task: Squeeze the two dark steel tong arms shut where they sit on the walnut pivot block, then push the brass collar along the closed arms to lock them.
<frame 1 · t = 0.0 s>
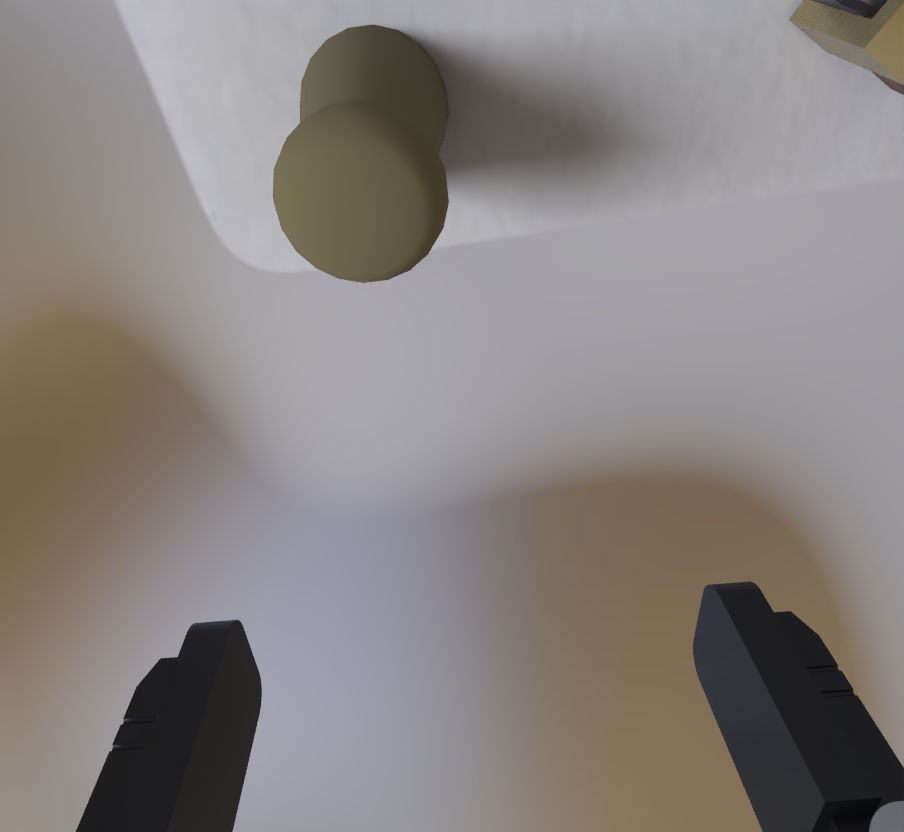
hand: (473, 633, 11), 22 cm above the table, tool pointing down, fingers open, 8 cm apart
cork: (375, 108, 27), on the table
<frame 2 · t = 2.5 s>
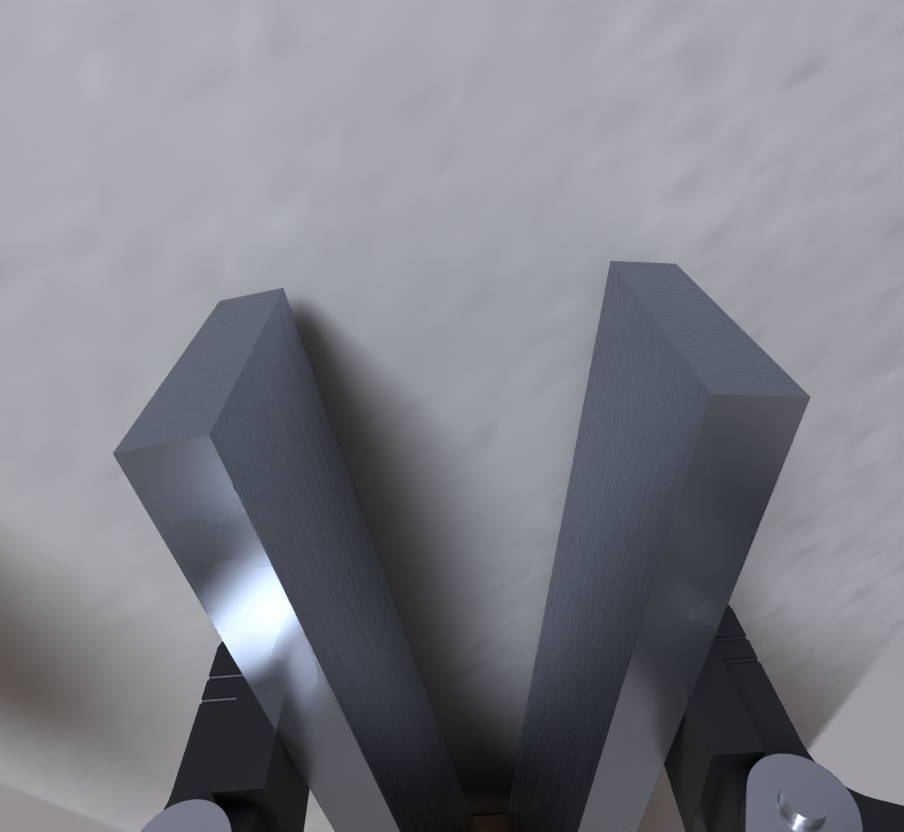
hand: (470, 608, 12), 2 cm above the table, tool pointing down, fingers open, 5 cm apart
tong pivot: (488, 810, 19), on the table
tong arm 2: (378, 725, 12), point 2 cm above the table, hinge at 7.4°, touching gripper
tong arm 1: (585, 708, 12), point 2 cm above the table, hinge at -7.0°, touching gripper
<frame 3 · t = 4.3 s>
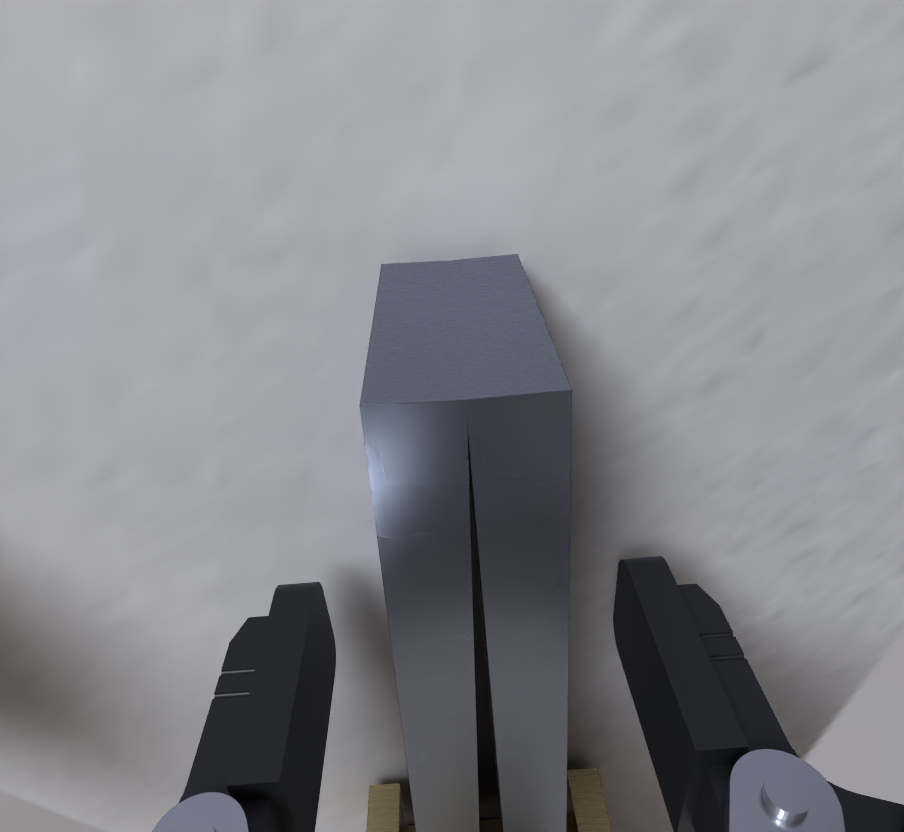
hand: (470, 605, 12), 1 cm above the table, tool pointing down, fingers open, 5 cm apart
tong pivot: (485, 814, 19), on the table
tong arm 2: (444, 718, 12), point 3 cm above the table, hinge at -1.6°, touching tong arm 1
tong arm 1: (518, 713, 12), point 3 cm above the table, hinge at 1.2°, touching tong arm 2
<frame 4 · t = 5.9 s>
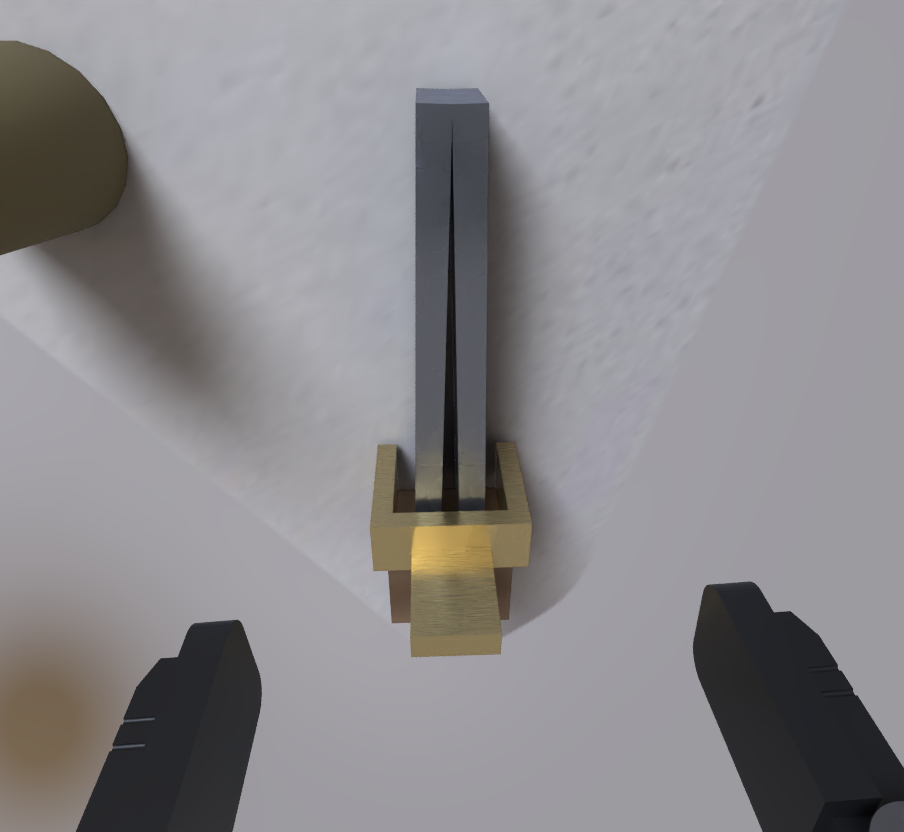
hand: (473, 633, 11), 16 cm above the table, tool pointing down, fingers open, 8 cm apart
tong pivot: (446, 484, 30), on the table
tong arm 2: (429, 340, 24), point 2 cm above the table, hinge at -1.6°, touching tong arm 1
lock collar: (450, 535, 25), point 5 cm above the table, slide at 0.0 cm
tong arm 1: (467, 340, 24), point 2 cm above the table, hinge at 1.2°, touching tong arm 2
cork: (36, 142, 22), on the table
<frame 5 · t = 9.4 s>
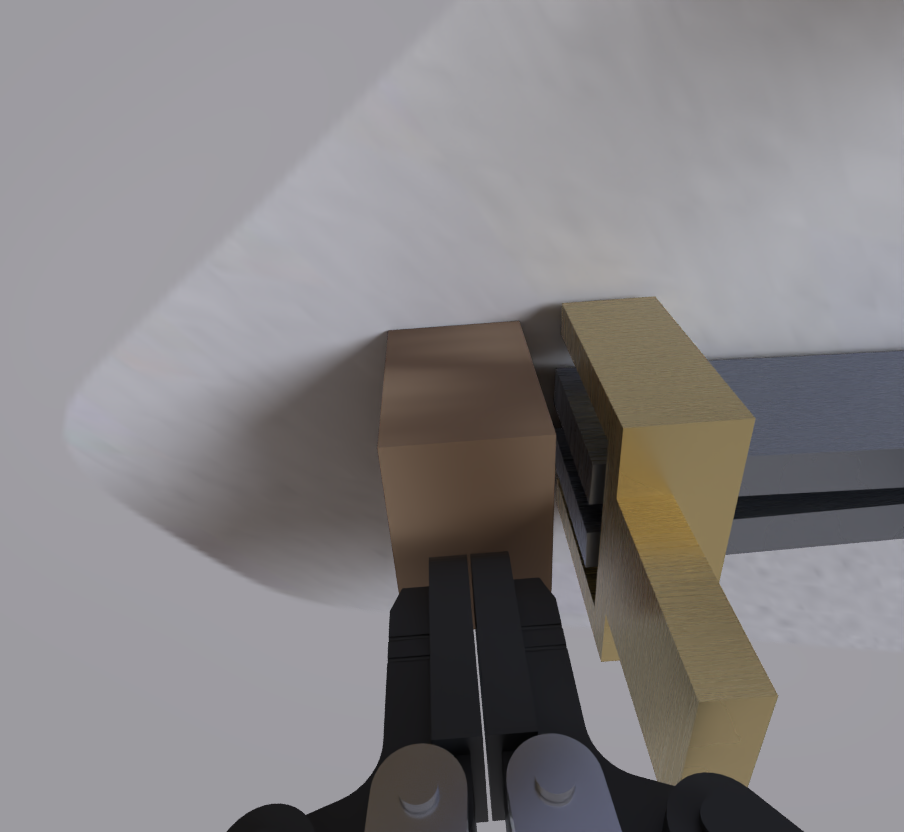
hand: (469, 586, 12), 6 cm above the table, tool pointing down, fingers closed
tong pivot: (531, 407, 17), on the table
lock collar: (656, 530, 13), point 5 cm above the table, slide at 0.4 cm, touching gripper
tong arm 1: (902, 460, 15), point 2 cm above the table, hinge at 1.2°, touching tong arm 2
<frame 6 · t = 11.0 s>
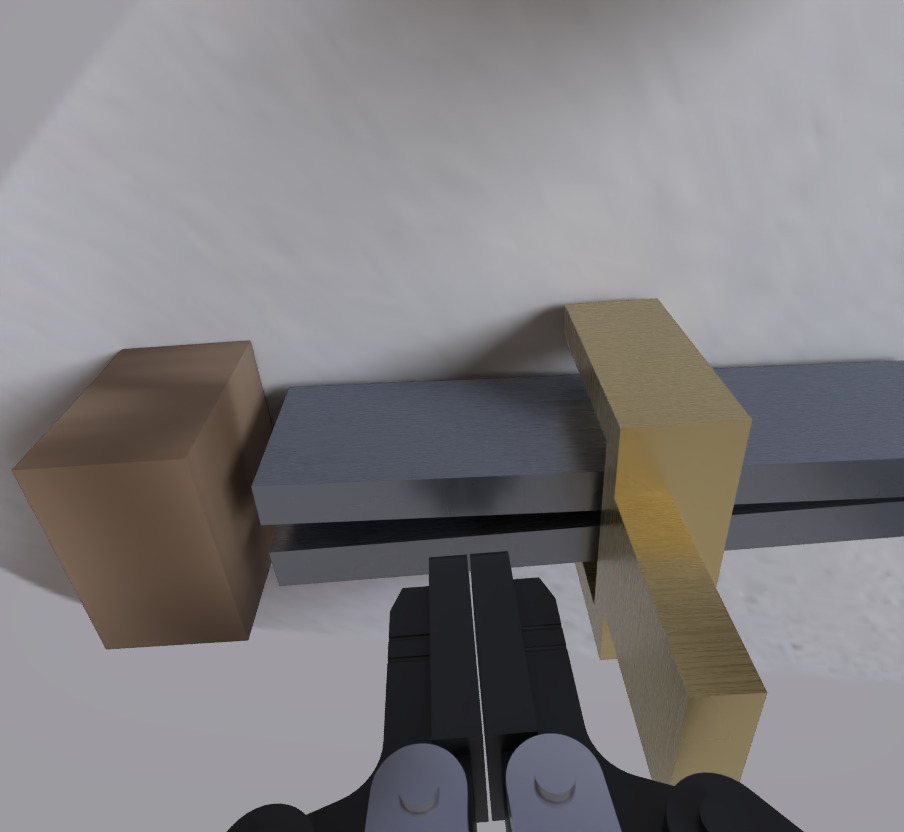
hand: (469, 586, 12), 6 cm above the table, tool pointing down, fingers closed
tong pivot: (282, 424, 17), on the table
tong arm 2: (626, 434, 15), point 3 cm above the table, hinge at -1.6°, touching tong arm 1
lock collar: (655, 530, 13), point 5 cm above the table, slide at 7.1 cm, touching gripper
tong arm 1: (622, 482, 16), point 3 cm above the table, hinge at 1.2°, touching tong arm 2
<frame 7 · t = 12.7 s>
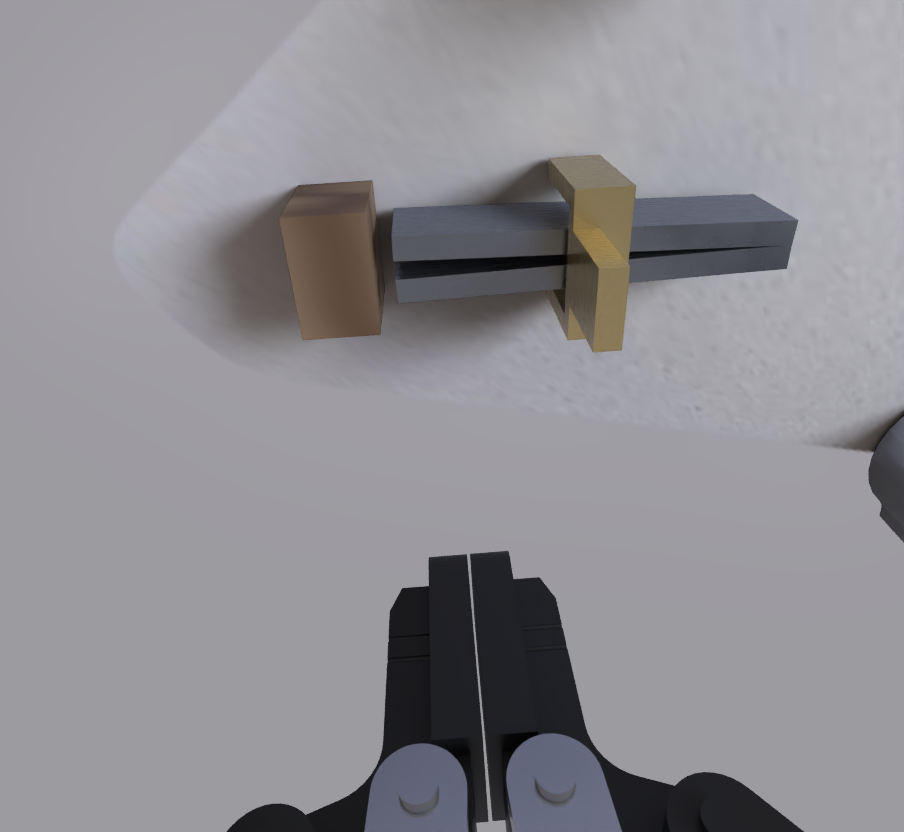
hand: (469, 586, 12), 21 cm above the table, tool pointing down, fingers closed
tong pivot: (385, 236, 30), on the table
tong arm 2: (584, 225, 27), point 3 cm above the table, hinge at -1.6°, touching tong arm 1
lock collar: (595, 261, 26), point 5 cm above the table, slide at 7.0 cm
tong arm 1: (582, 257, 28), point 2 cm above the table, hinge at 1.2°, touching tong arm 2
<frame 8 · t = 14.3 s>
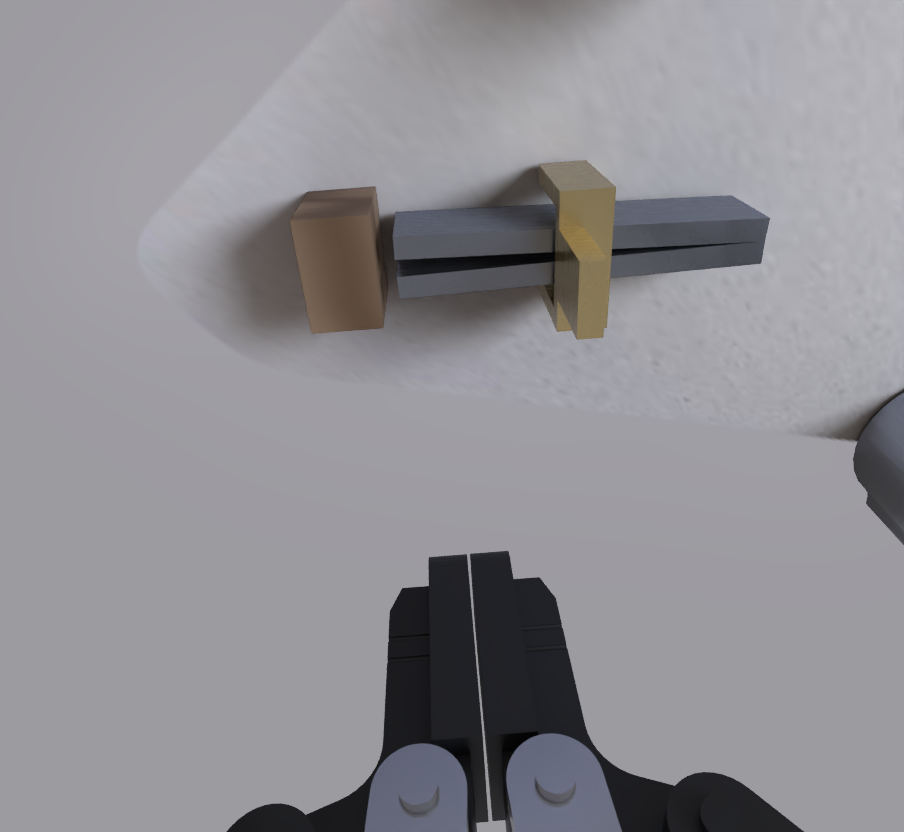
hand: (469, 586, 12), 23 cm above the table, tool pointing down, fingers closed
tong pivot: (388, 238, 32), on the table
tong arm 2: (571, 226, 29), point 2 cm above the table, hinge at -1.6°, touching tong arm 1
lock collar: (581, 258, 28), point 5 cm above the table, slide at 7.0 cm
tong arm 1: (570, 255, 30), point 2 cm above the table, hinge at 1.2°, touching tong arm 2
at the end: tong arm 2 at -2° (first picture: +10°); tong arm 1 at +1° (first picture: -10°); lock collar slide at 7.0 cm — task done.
